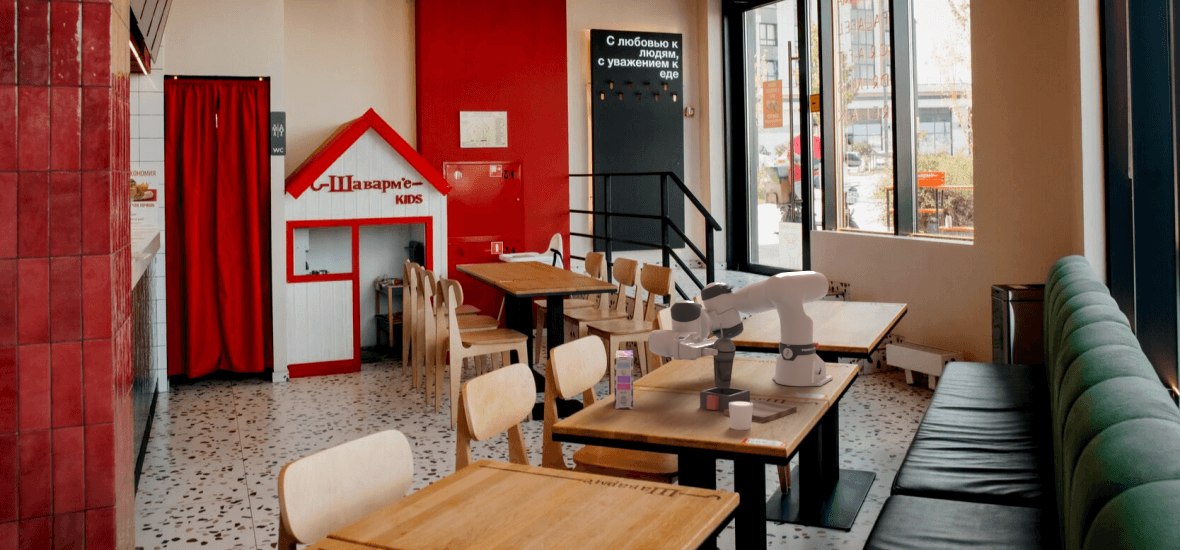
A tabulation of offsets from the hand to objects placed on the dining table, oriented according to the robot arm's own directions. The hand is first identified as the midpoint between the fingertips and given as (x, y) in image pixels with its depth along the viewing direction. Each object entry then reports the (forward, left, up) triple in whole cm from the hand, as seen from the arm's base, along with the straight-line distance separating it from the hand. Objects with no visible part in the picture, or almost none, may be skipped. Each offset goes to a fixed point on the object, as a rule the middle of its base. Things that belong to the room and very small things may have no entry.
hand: (726, 350), depth 280 cm
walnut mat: (-1, +12, -18) cm, 22 cm away
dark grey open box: (-1, -1, -18) cm, 18 cm away
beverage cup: (0, -1, -12) cm, 12 cm away
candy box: (+17, -27, -18) cm, 37 cm away
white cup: (+17, +17, -18) cm, 30 cm away
